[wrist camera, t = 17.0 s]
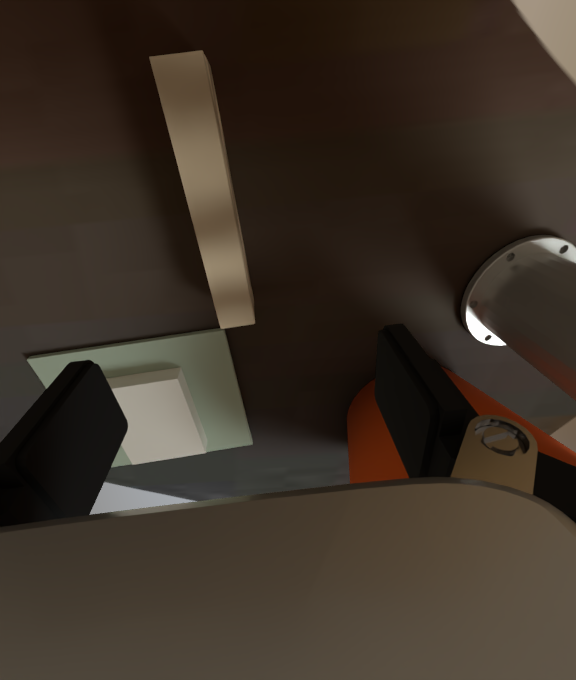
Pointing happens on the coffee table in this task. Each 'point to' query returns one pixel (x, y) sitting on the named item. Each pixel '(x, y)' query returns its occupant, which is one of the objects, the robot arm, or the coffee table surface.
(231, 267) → the wooden block
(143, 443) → the tile
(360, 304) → the coffee table surface
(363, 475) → the flowerpot
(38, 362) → the mat
